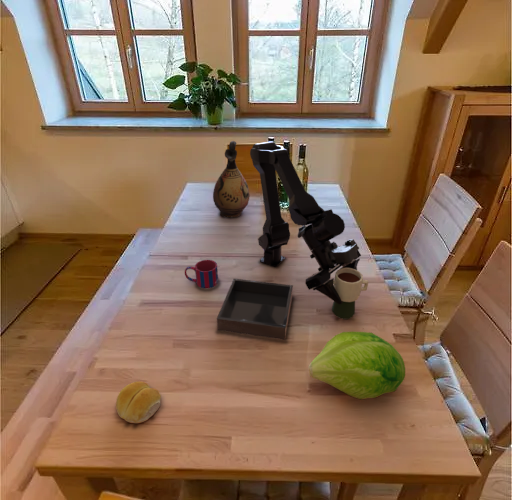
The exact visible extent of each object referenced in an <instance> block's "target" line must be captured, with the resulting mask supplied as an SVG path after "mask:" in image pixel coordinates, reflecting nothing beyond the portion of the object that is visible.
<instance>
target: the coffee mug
mask: <svg viewBox="0 0 512 500" xmlns="http://www.w3.org/2000/svg"><path fill="white" fill-rule="evenodd" d="M340 268H341V267H340ZM340 268H338V269H337V270H336V271H335V272H334V281H333V285H334V287H335V289H336V291H337V293H338V295H339V296H340V298H341V301H342V304H338V303H336V302H335V301H333V302H332V307H331V312H332V314H333V315H334V316H336V318H339V319H342V320H349V319H352V318H353V317H354V316H355V314H356V301H357V300H358V299H359V297H360V296H361V292H364V291H367V290H368V288H369V287H368V286H369V280H367V279H364V276H363V274H362V273H361V271H359V270H358V269H357V270H355V269H352V268H341V269H340Z"/></svg>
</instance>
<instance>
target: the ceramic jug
mask: <svg viewBox="0 0 512 500" xmlns="http://www.w3.org/2000/svg"><path fill="white" fill-rule="evenodd" d="M236 147H237V141H235V140H232V141H230V142H229V144H228V148H226V149H225V150H224V157H225V158H226V159H227V163H226V167H225V168H224V169H223V171H222V172H221V173H220V175H219V177H218V178H217V180H216V182H215V184H214V187H213V192H212V200H213V203H214V205H215V207H216V208H217V210H218V211H219V213H220V216H222V217H224V218H228V219H231V218H238V217H239V216H241V215H242V212H243V211H244V210H245V209H246V208H247V206H248V205H249V201H250V198H251V197H250V196H251V195H250V189H249V184H248V183H247V180H246V178H245V177H244V175H243V174H242V172H241V171H240V170H239V168H238V166H237V163H236V159H237V156H238V151H237V150H236Z"/></svg>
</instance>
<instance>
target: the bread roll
mask: <svg viewBox="0 0 512 500" xmlns="http://www.w3.org/2000/svg"><path fill="white" fill-rule="evenodd" d="M161 398H162V395H161V393H160V391H159V390H158V389H156V388H154V387H151V386H150V385H149V384H148V383H147V382H145V381H139V380H138V381H133V382H131V383H129V384H127V385H125V386H124V387H123V388H121V390H120V391H119V393H118V394H117V396H116V400H115V401H116V403H115V408H116V409H115V410H116V412H117V414H118V416H119V418H121V419H123V420H124V421H126V422H128V423H131V424H141V423H143V422H146V421H147V420H149V419H150V418H151V417H152V416H153V415H155V413H156V412H157V411H158V410H159V408H160V407H161Z"/></svg>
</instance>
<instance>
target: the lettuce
mask: <svg viewBox="0 0 512 500" xmlns="http://www.w3.org/2000/svg"><path fill="white" fill-rule="evenodd" d="M405 365H406V364H405V361H404V358H403V356H402V355H401V353H400V352H399V351H398V350H397V349H396V348H395V346H393V344H391V343H389V342H388V341H387V340H385V339H384V338H382V337H380V336H378V335H377V334H375V333H374V332H370V331H369V332H368V331H343V332H340V333H337V334H335V335H334V336H333V337H331V338H330V339H329V340H328V341H327V342H326V344H325V345H324V347H323V348H322V350H321V352H319V353H318V354H317V355H316V356H315V357H314V359H313V360H311V362H310V363H309V365H308V374H309V377H310V378H313V379H314V380H317V381H320V382H323V383H325V384H327V385H329V386H331V387H333V388H335V389H337V390H338V391H340V392H342V393H344V394H346V395H347V396H349V397H352V398H354V399H358V400H359V401H360V400H365V399H376V398H377V397H380V396H381V395H383V394H388V393H393V392H396V391H397V390H398V388H399V387H400V386H401V385H402V383H403V382H404V381H405V378H406V366H405Z"/></svg>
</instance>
